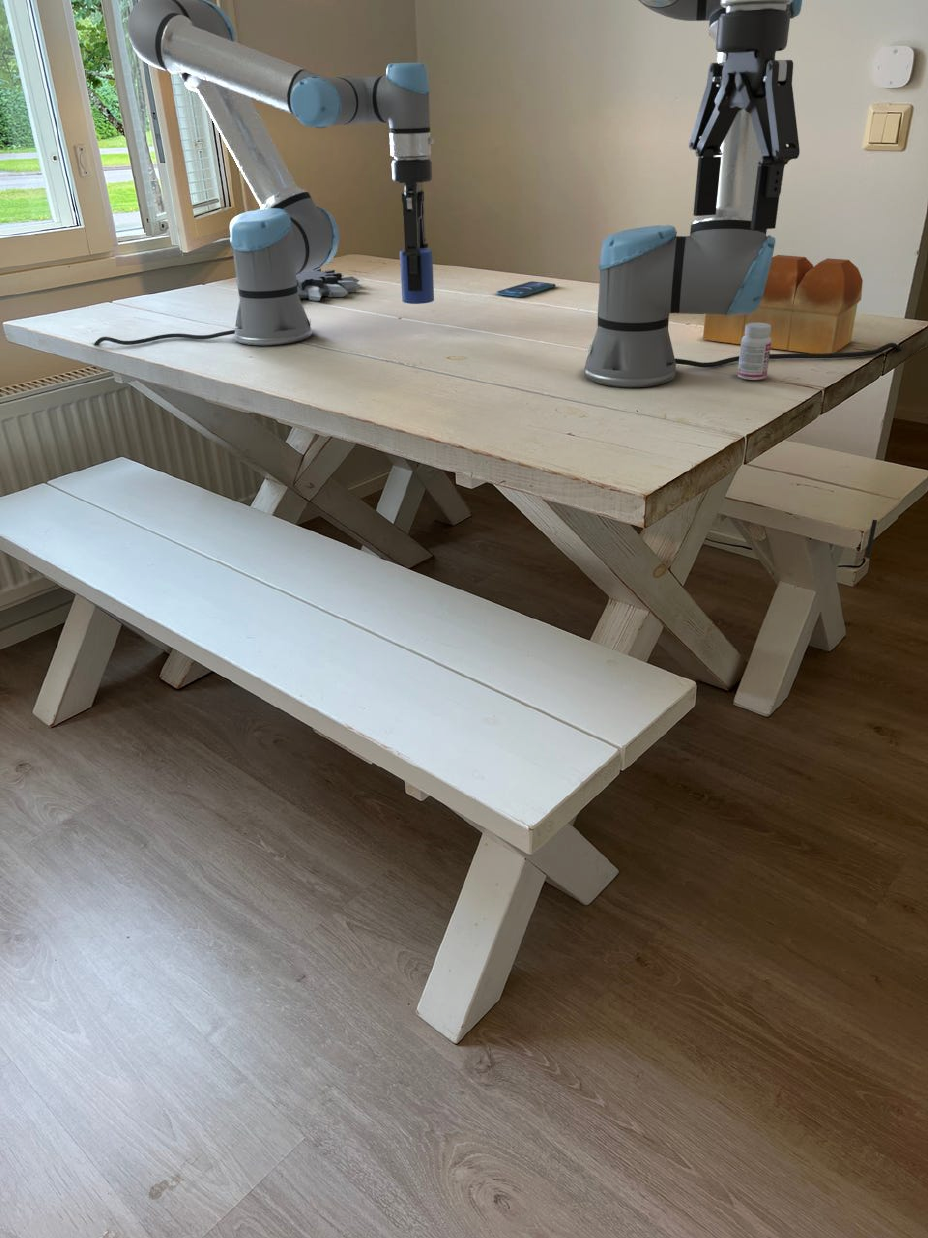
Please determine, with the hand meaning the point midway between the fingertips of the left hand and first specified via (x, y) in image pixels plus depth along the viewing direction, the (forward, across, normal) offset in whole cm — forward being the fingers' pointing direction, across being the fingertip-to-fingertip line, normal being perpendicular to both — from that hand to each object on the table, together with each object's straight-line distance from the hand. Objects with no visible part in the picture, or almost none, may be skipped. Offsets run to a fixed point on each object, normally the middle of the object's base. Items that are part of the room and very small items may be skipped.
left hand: (417, 286), depth 187 cm
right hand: (-20, -72, -47) cm, 88 cm away
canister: (+3, 0, 0) cm, 3 cm away
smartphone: (+9, +40, -21) cm, 47 cm away
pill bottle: (+9, -35, -60) cm, 70 cm away
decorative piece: (+9, +42, +33) cm, 55 cm away
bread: (+9, -11, -69) cm, 70 cm away
